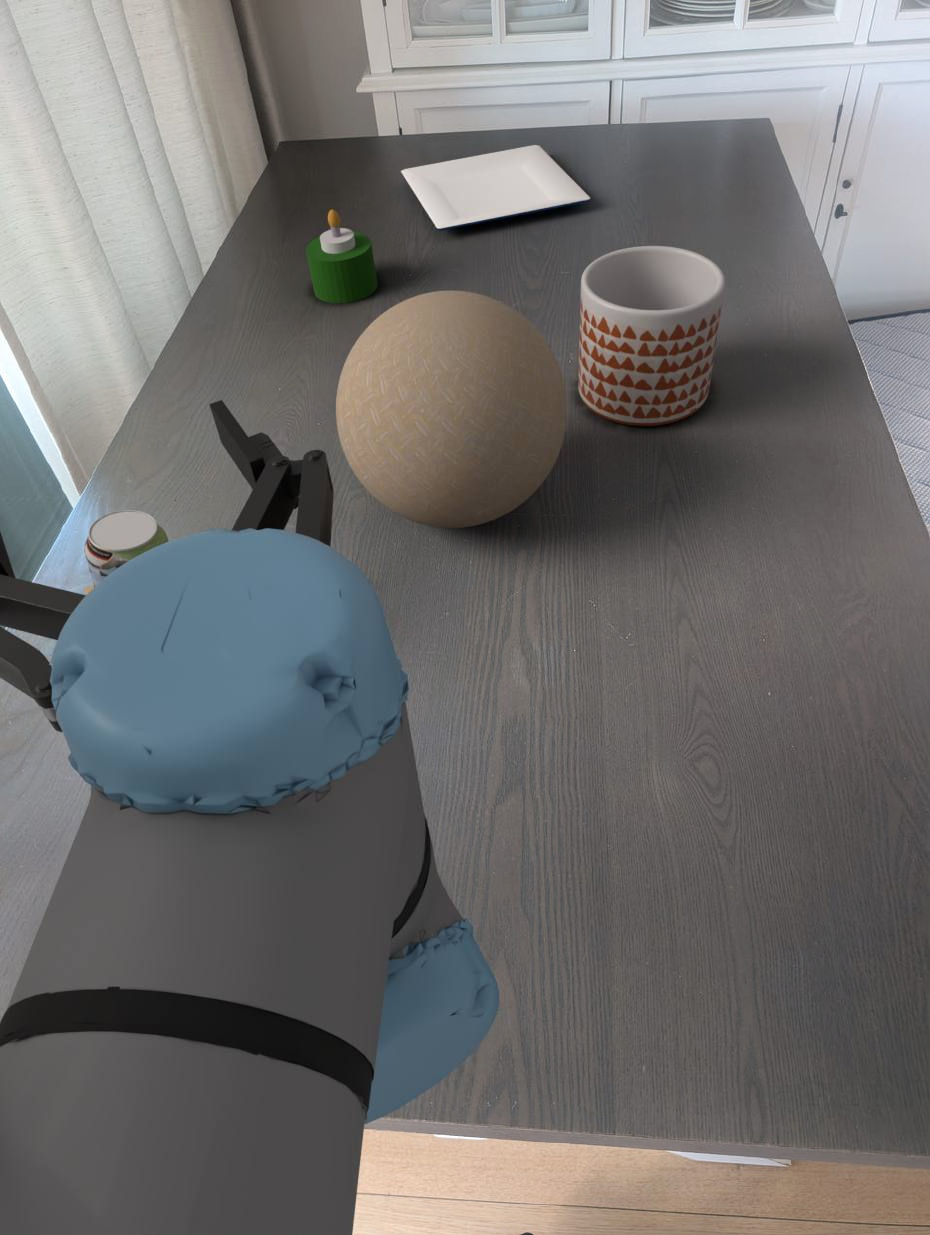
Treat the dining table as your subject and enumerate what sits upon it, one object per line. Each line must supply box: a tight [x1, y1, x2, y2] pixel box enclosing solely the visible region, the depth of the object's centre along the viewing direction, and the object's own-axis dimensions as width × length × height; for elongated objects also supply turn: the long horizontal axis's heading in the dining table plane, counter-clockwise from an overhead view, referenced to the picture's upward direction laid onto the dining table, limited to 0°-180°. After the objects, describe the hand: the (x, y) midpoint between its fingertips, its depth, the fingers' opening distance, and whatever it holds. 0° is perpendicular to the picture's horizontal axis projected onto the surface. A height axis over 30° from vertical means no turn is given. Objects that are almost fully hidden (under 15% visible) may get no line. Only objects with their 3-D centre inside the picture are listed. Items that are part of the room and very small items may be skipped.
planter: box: [578, 245, 726, 427], centre depth 91 cm, size 14×14×13 cm
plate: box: [400, 144, 591, 231], centre depth 132 cm, size 22×22×2 cm
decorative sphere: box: [335, 290, 568, 529], centre depth 78 cm, size 20×20×20 cm
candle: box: [305, 209, 378, 304], centre depth 113 cm, size 8×8×10 cm
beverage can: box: [84, 509, 170, 587], centre depth 71 cm, size 6×7×12 cm
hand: (105, 463), depth 50 cm, fingers open, 13 cm apart
